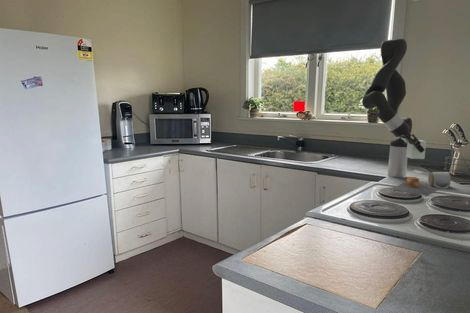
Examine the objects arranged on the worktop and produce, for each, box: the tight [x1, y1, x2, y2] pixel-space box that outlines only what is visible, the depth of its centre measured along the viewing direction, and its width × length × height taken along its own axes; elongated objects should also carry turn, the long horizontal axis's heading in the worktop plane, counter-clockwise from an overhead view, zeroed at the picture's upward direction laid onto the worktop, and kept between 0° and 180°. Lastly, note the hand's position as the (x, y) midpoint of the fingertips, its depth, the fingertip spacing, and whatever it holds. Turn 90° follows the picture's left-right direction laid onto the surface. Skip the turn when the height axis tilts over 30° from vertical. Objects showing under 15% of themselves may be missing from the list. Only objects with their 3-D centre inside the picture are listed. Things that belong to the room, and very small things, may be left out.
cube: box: [405, 176, 420, 187], centre depth 160 cm, size 4×4×4 cm
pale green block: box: [406, 139, 427, 160], centre depth 157 cm, size 6×6×8 cm
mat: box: [389, 182, 441, 197], centre depth 155 cm, size 20×16×1 cm
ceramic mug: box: [427, 171, 452, 190], centre depth 160 cm, size 11×8×8 cm
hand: (419, 150), depth 157 cm, fingers closed on pale green block, 6 cm apart
